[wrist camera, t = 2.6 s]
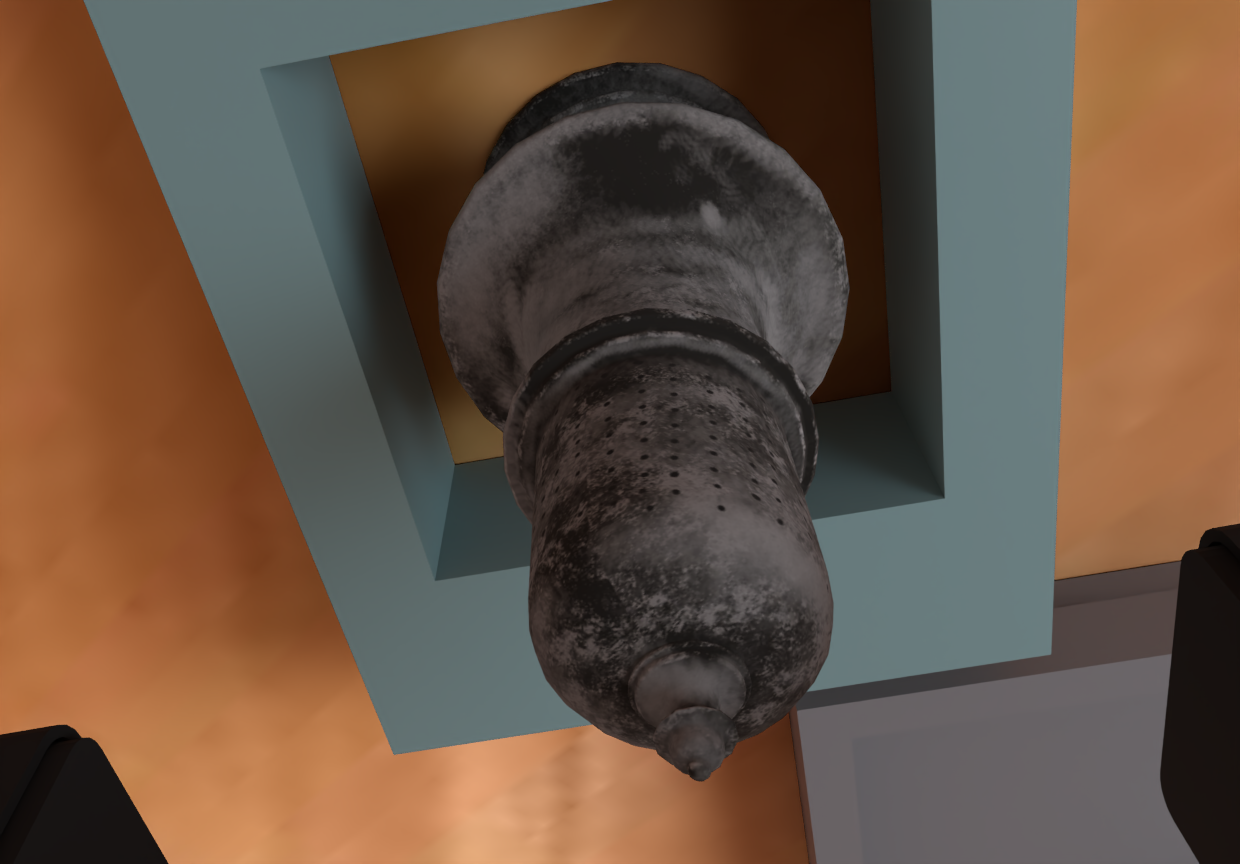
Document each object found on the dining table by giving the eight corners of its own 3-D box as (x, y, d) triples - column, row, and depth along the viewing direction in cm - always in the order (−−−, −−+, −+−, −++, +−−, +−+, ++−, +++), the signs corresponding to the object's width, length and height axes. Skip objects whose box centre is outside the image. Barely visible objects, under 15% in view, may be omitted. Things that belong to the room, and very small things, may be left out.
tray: (776, 624, 24) (796, 710, 21) (1402, 526, 23) (1487, 606, 21) (824, 976, 30) (843, 1068, 28) (1308, 910, 30) (1364, 1000, 27)
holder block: (98, -251, 15) (-21, -253, 12) (986, -443, 14) (1096, -495, 11) (417, 626, 23) (394, 755, 20) (988, 535, 23) (1050, 654, 20)
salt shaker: (596, 428, 21) (615, 1071, 11) (385, 186, 18) (144, 730, 8) (867, 253, 19) (1199, 820, 9) (678, -40, 17) (840, 289, 6)
